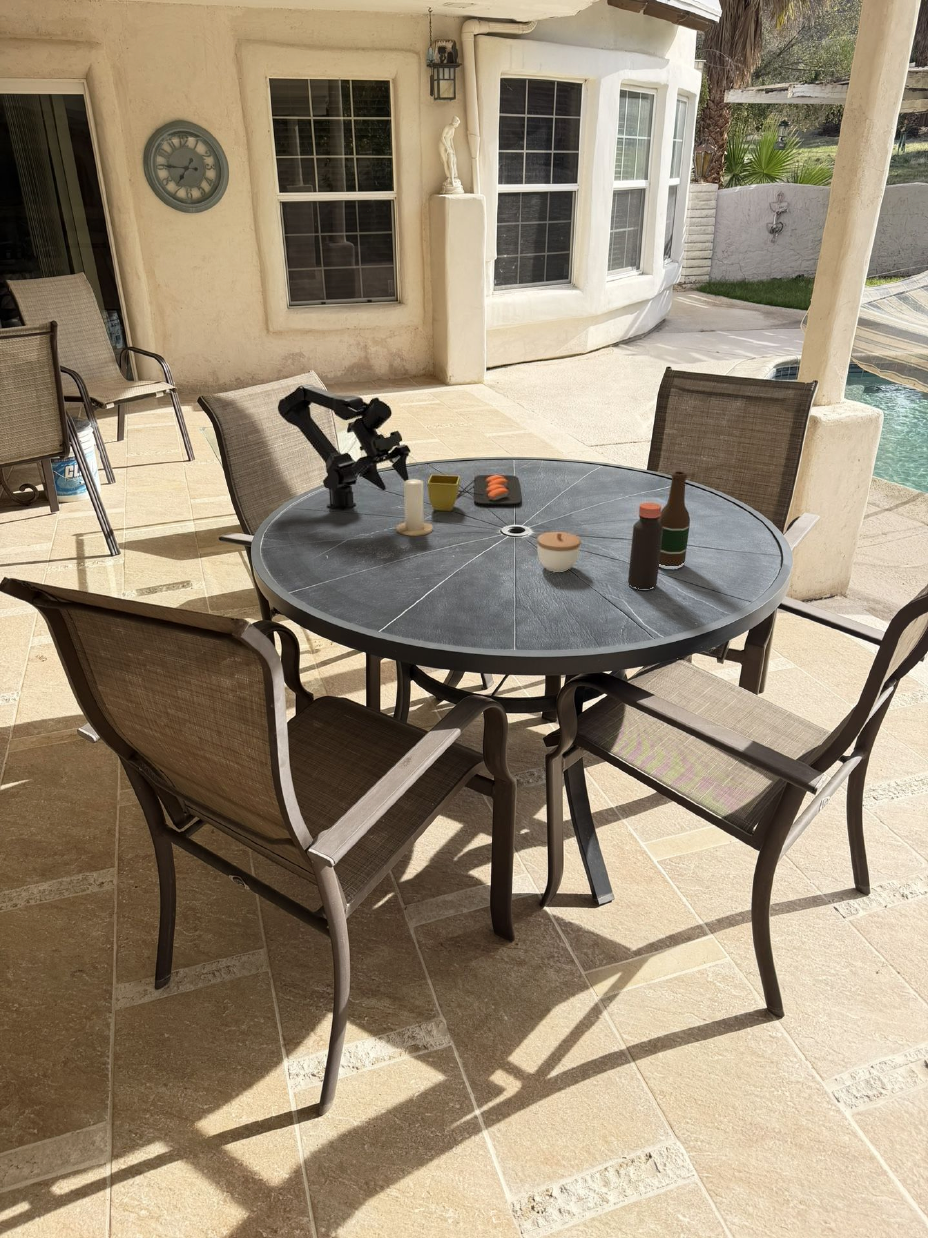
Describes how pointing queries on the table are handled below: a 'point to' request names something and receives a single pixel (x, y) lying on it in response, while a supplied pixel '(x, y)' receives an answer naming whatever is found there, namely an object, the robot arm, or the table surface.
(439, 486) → the flower pot
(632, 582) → the vinegar
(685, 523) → the beer bottle
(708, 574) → the table surface
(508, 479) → the sushi plate
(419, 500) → the cream glossy rounded body
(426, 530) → the cork coaster
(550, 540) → the lidded jar
